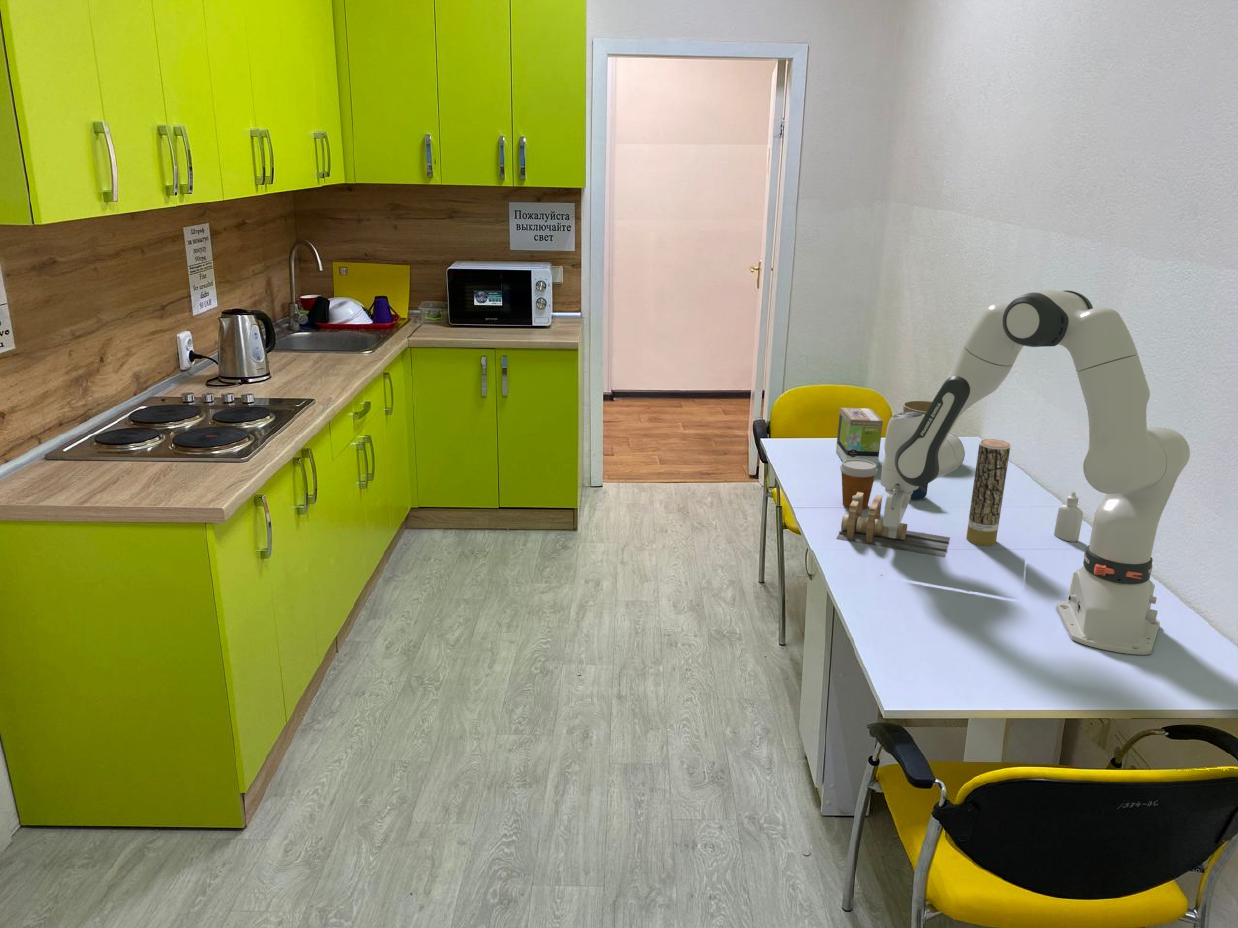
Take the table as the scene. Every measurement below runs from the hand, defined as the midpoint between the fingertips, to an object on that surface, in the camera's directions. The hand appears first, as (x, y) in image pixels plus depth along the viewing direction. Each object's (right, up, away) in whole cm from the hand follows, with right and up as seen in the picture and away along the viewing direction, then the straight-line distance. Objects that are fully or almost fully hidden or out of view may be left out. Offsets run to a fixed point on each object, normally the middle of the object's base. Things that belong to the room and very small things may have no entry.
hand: (894, 532), depth 230 cm
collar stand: (0, -2, +1) cm, 2 cm away
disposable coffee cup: (-4, +5, +22) cm, 23 cm away
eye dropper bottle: (+43, -2, +4) cm, 43 cm away
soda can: (+14, +7, +30) cm, 34 cm away
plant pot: (+28, +19, +66) cm, 74 cm away
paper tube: (+21, -3, 0) cm, 21 cm away
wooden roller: (-4, -1, +2) cm, 5 cm away
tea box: (+6, +18, +61) cm, 64 cm away
